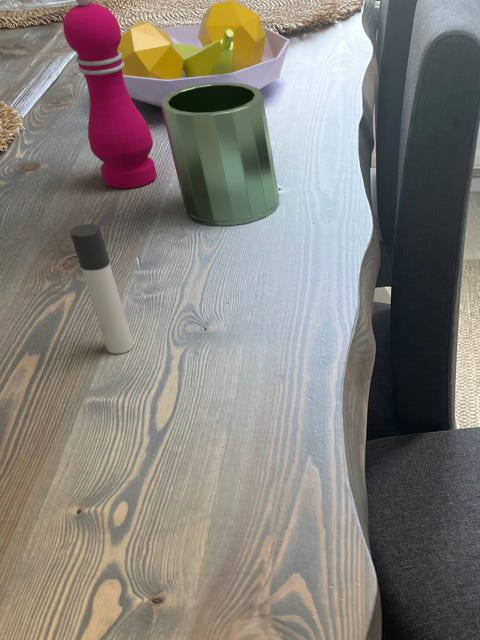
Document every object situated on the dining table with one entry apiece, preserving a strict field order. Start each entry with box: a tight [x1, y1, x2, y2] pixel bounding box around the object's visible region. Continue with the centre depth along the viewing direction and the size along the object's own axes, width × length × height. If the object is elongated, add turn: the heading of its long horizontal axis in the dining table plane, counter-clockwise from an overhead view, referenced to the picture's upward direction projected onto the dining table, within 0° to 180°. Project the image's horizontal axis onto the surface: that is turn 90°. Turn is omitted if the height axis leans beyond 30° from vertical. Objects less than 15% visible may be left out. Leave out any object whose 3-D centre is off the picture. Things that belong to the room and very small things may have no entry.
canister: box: [160, 82, 280, 227], centre depth 112 cm, size 11×11×12 cm
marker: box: [69, 223, 134, 355], centre depth 89 cm, size 2×2×11 cm
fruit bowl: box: [117, 0, 291, 108], centre depth 139 cm, size 28×27×11 cm
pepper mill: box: [62, 0, 158, 190], centre depth 115 cm, size 7×7×20 cm
